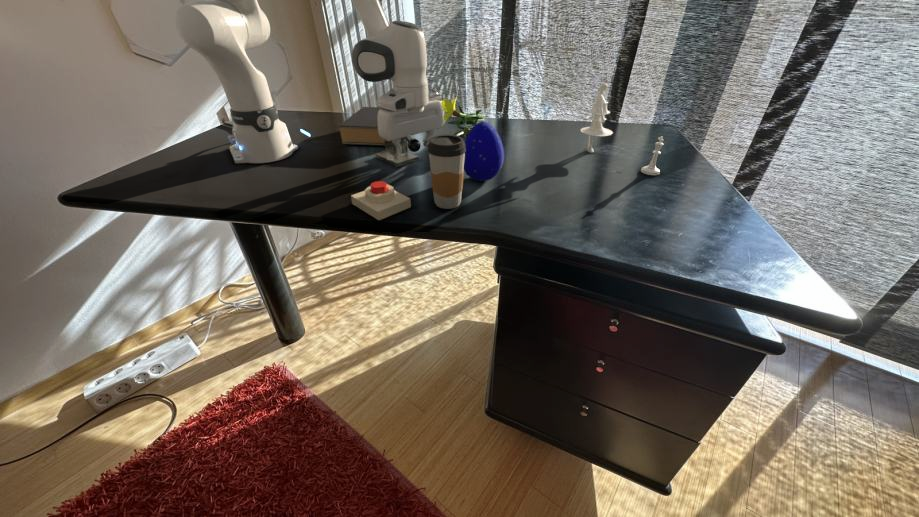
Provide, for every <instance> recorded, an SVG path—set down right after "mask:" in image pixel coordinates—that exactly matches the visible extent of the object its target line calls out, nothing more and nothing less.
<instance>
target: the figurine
mask: <svg viewBox="0 0 919 517" xmlns="http://www.w3.org/2000/svg"><path fill="white" fill-rule="evenodd" d="M608 87H609V85H608V84H607V83H606V82H601V83H600V85H599V87H598V89H597V92H598V93H597V94H596V96H595V101H592V104H593V106H592V108H591V109H590V110H587V111H588V113H589V114H592V115H587V116H586V119H588V120H590V121H591V124H590V126H586V127H585V126H584V127H582V128H580V132H581V133H583V134H585V135H588V143H587V145H586V151H587V153H593V154H594V153H595V150H594V148H593V142H594V138H595V137H609V136H612V135H613V134H614V132H613V131H612V130H611V129H609V128H605V127H604V126H603V122H605V121H606V120H607V118H606V117H605V116H604V115H609V114H611V111H610V110H608V106H607V104H609V102H608V101H606V99H605V97H604V93H607V91H608V89H609V88H608Z"/></svg>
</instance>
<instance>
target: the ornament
mask: <svg viewBox="0 0 919 517" xmlns="http://www.w3.org/2000/svg"><path fill="white" fill-rule="evenodd" d="M472 127H473V128H472ZM472 127H471V128H472V129H471V130H470V132H469V133H468V135H467V137H466V139H465V138H464V143H465V145H466V146H465V148H466V152H465V158H464V173H466V175H467V176H468V177H469V178H470V179H472V180H474V181H477V182H486V181H489V180H492V179H494V177H496V176H497V175H498V173H499V172H500V171H501V170H502V167H503V166H504V162H505V157H506V156H505V148H504V146H503V141H502V139H501V136H500V135H499V132H498V131H497V130H496V128H495V127H494V126H493V125H492V124H490V123H489V122H487V121H485V122H484V121H483V122H477V124H476V125H475V126H472Z"/></svg>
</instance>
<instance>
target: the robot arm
mask: <svg viewBox="0 0 919 517" xmlns="http://www.w3.org/2000/svg"><path fill="white" fill-rule="evenodd" d="M350 2H351V3H352V5H353V7H354V9H355V12H356V13H357V15H358V18H359V19H360V21H361V23H362V25H363V28H364V30H365V31H366V34H367V37H365V38H362V39H360V41H358V42H357V43H355V45H354V46H353V48H352V51H351V62H352V66H353V69H354V70H355V72H356V74H357V75H358V77H360V78H361V79H363V80H365V81H366V82H370V83H378V82H382V81H387V80H390V81H391V82H392V88H391V89H390V90H388V91H387V92H386V93H384V94H382V95H381V96H379V97H378V98H377V100H376V103H377V104H376V105H377V107H381V108H380V110H379V111H378V116H377V121H378V133H379V136H380V137H381V138H382V139H384V140H386V141H392V142H393V143H394V145H395V146H396V148H397V153H398V154H400V155H401V154H404V153H405V151H404V150H405V147H402V146H401V145H400V143H399V142H401V138H403V137H407V136H410V137H412V136H415V135H418V134H421V133H426V135H425V138H423V139H422V141H423V143H422V144H423V147H426V148H428V144H429V143H430V139H431V138H432V137H434V136H435V135H434V134H435V130H438V128H439V129H441V128H443V127H444V125H445V124H444V115H445V113H444V111H443V107H442V100H443V97H442V96H441V94H440V93H438V92H437V91H435V92H430V93H429V82H428V78H427V68H428V53H427V52H428V51H427V42H426V37H425V34H424V30H423V29H422V28H421V26H419V25H417V24H415V23H413V22H409V21H403V20H394V21H391V22H389V19H388V17H387V15H386V13H385V10H384V8H383V6H382V3H381V1H380V0H350ZM174 23H175V26H176V27H175V28H176V31H177V32H178V34H179V36H180V37H181V39H182V40H183V42H184V43H185V44H186V45H187V46H188V47H189V48H191V49H192V50H193V51H195V52H197V53H198V54H199V55H200V56H202V57H203V58H204V60H206V61H207V63H208V64H209V66H210V67H211V69H213V71H214V73H215V74H216V76H217V77H218V79H219V81H220V84H221V86H222V88H223V91H224V93H225V96H226V100H227V102H228V104H229V107H230V108H229V112H230V113H229V114H230V117H231V121H232V122H233V124H231V123H227V122H226V118H225V117H222V118H221V122H222V124H223V125H225V126H227V127H232V129H231V134H230V135H227V136H226V137H227V140H228V142H229V144H230V146H229V147H228V149H229V152H230V154H231V156H232V159H233V161H234V163H235V164H265V163H273V162H278V161H282V160H284V159H286V158H288V157H290V156H292V154H293V153H294V152H295V151H297V150H299V147H298V145H297V144H294V143H293V142H292V138H291V136H290V133H289V130H288V127H287V125H286V123H285V122H283V121H282V120H280V119H279V118H280V116H279V111H278V108H277V106H276V104H274V102H273V98H272V94H271V92H270V88H269V84H268V81H267V78H266V75H265V74H264V73H263V72H262V71H260V69H258V68H256V67H255V66H254V65H253V63H252V61H251V59H249V57H248V54H247V53H246V51H247V50H251V49H256V48H258V47H260V46H262V45H264V44H265V43H266V42H267V41H268V40H269V38H270V37H271V25H270V21H269V18H268V17H267V15H266V13H265V11H263V10H262V9H261V6H260V4H259V2H258V0H193V1H190V2H187V3H184V4H183V5H180V6H178V8H176V11H175V13H174ZM299 131H300V132H301V133H302V134H304V135H306V136H308V137H309V138H310V137H311V133H309V132H308V131H305V130H304V129H302V128H300V130H299ZM231 144H232V145H231Z"/></svg>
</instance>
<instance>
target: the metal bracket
mask: <svg viewBox="0 0 919 517" xmlns="http://www.w3.org/2000/svg"><path fill="white" fill-rule="evenodd" d="M384 142H385V145H384V150H383V151H379V152H376V153H375V158H377V159H379V160H381V161H383V162H385V163H388V164H390V165H392V166H394V167H396V168H400V167H403V166H406V165H408V164H412V163H415V162H418V161H420V156H419V155H417V154H414V153H413V152H412V153H411V152H409V148H408V142H407V140H406V139H405V138H404V137H403V138H401V142H399V143H400V145H401V146H402V147H405V150H404V151H405V153H404V154H401V155H400V154H398V153H397V148H396V146H395V145H394V143H393V142H392V141H386V140H384Z"/></svg>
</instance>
